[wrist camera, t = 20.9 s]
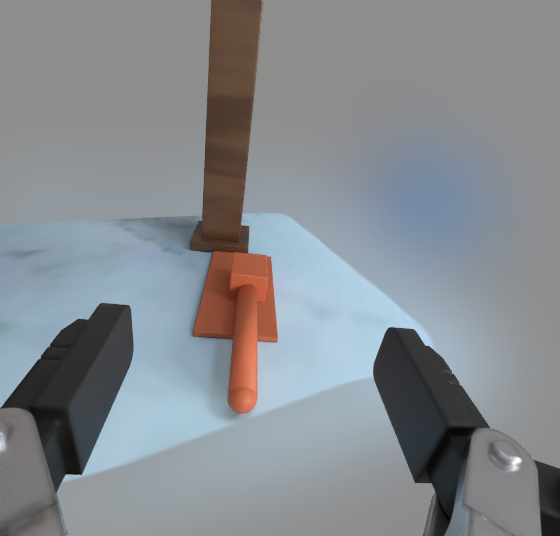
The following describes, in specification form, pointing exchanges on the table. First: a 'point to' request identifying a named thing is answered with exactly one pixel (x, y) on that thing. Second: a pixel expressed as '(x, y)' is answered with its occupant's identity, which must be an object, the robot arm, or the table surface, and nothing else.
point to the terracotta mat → (231, 304)
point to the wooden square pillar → (228, 124)
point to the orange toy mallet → (245, 327)
